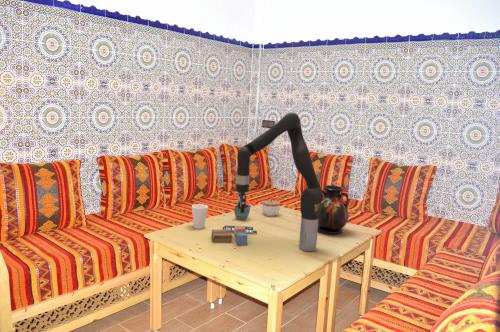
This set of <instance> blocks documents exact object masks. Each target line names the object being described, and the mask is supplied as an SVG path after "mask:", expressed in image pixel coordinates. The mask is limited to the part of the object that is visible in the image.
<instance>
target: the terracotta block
mask: <svg viewBox="0 0 500 332" xmlns="http://www.w3.org/2000/svg"><path fill="white" fill-rule="evenodd" d="M233 228H234V230H233V235H234V238H236V232H246V227H245V225H234V227H233ZM246 233H247V232H246Z"/></svg>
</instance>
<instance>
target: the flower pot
mask: <svg viewBox="0 0 500 332" xmlns="http://www.w3.org/2000/svg"><path fill="white" fill-rule="evenodd" d="M233 211H234V216H235V218H236V220H237V221H246V220H247V219H248V217H249V215H250V212H251V205H250V204H246V206H245V209H244V213H241V212H240V209H238V203H237V204H236V205H235V206H234V207H233Z"/></svg>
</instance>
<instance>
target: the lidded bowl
mask: <svg viewBox="0 0 500 332" xmlns="http://www.w3.org/2000/svg"><path fill="white" fill-rule="evenodd" d="M261 206H262V207H261V208H262V212H263V214H264V215H265V216H267V217H275V215H277V214H279V212H280V208H281V202H280V201H278V200H275V199H274V200H273V199H265V200H262V202H261Z"/></svg>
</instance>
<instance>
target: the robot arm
mask: <svg viewBox="0 0 500 332" xmlns="http://www.w3.org/2000/svg"><path fill="white" fill-rule="evenodd" d="M285 132H287V136H288V138H289V141H290V146H291V147H290V148H291V153H292V154H291V155H292V159H293V163H294V165H295V168H296V169H297V171H298V173H300V175H301V176H302V177H303V179H304V181H305V183H306V186H307V188H305V189H304V190H302V191H301V194H300V204H299V205H300V206H299V207H300V209H299V210H300V214H301V218H300V227H299V228H300V231H299V243H298V248H299V249H300V250H302V251H304V252H316V251H317V245H318V243H317V241H318V232H319V231H318V221H319V213H318V212H316V211H315V206H316V205H317V204H320V203H321V202H322V201H323V197H324V194H323V192H322V190H323V188H322V187H321V185H320V182H319V180H318V178H317V173H316V171H315V168H314V164H313V161H312V158H311V157H312V156H311V153H310V150H309V147H308V145H307V143H306V140H305V138H304V135H303V130H302V124H301V119H300V117H299V115H298V113H295V112H291V111H290V112H288V113H286V114H285V115H283V117H281V119H280V120H278V122H277V123H275V124H273V126H271V127H270V128H269V129H267V130H266V131H264V132H263V133H261V134H260V135H258V136H257V137H256V138H254V139H253V140H251V142H249V143H246V144H245V145H243V146H242V147H240V148H239V149H238V151H237V160H236V162H237V166H236V176H235V177H236V178H235V191H236V192H237V202H238V203H237V204H238V209H240V212H241V213H244V209H245V206H246V205H247V194H246V193H248V192H250V162H251V161H250V160H251V156H253V155H254V154H256V153H258V152H261V150H263V149H265V148H267V147H268V146H269V145H271V143H273V142H274V141H275V140H276V139H277V138H278V137H279V136H281V135H282V134H284V133H285Z"/></svg>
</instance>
